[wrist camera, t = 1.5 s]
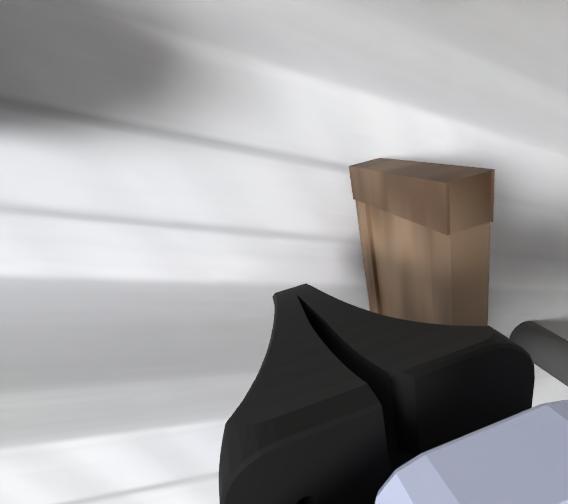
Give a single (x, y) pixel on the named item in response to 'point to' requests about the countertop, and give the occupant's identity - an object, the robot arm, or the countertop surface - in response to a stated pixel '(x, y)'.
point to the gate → (425, 239)
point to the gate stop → (543, 349)
